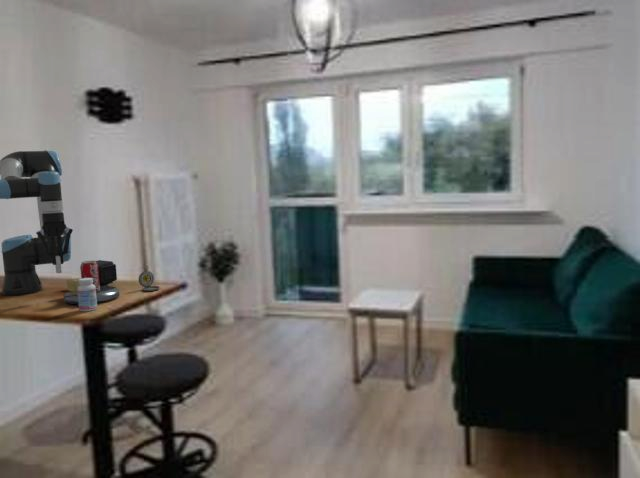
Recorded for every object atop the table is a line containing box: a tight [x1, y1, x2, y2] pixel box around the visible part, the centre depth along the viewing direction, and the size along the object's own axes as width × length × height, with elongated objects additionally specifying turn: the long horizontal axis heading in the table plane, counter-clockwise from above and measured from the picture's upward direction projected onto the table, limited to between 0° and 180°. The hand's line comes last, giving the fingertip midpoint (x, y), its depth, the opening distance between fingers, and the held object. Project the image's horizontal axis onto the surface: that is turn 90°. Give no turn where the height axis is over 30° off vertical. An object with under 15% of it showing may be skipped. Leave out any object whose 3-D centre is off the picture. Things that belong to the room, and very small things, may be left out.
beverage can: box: [79, 260, 100, 292], centre depth 215 cm, size 6×6×12 cm
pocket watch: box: [138, 264, 161, 292], centre depth 229 cm, size 8×8×10 cm
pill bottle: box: [77, 278, 98, 313], centre depth 199 cm, size 6×6×11 cm
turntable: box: [63, 279, 120, 305], centre depth 216 cm, size 23×20×6 cm
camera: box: [95, 259, 118, 287], centre depth 239 cm, size 11×11×15 cm
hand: (58, 272), depth 217 cm, fingers closed
